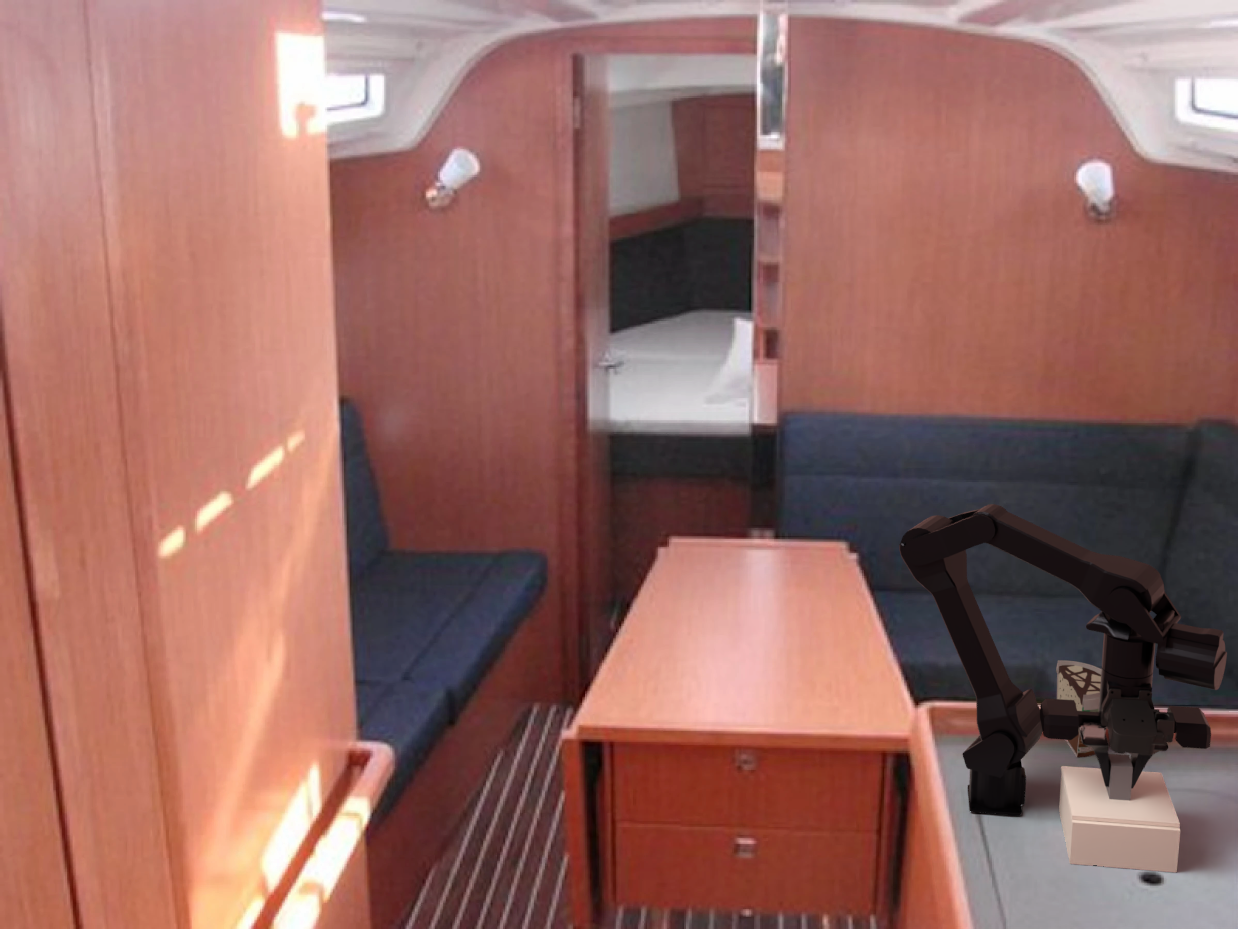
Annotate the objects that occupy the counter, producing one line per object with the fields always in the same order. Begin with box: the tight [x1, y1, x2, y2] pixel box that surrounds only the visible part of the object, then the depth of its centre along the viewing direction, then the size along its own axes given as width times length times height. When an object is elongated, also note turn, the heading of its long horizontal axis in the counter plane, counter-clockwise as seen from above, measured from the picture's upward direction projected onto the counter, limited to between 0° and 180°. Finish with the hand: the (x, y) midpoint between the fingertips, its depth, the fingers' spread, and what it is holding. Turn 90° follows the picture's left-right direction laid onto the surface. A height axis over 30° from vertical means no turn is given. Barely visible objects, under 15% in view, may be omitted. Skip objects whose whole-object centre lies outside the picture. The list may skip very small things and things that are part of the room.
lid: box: [1060, 753, 1181, 828], centre depth 159 cm, size 12×12×5 cm
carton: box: [1058, 772, 1181, 873], centre depth 160 cm, size 12×12×6 cm
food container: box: [1055, 659, 1102, 759], centre depth 184 cm, size 12×6×10 cm, turn 179°
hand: (1118, 786), depth 159 cm, fingers closed on lid, 2 cm apart
